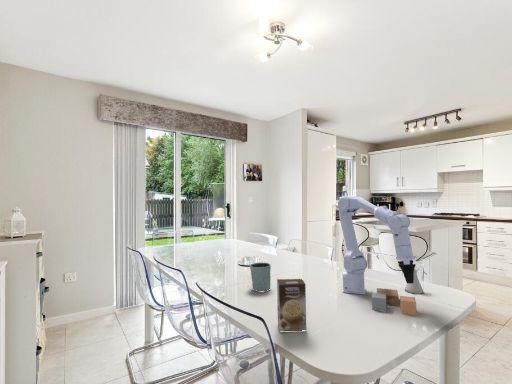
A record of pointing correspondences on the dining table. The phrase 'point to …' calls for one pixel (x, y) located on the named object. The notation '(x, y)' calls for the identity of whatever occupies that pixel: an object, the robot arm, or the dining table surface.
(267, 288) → the grey green cup
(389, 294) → the walnut base block
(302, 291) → the coffee box
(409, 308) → the terracotta block
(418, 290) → the flask
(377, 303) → the slate grey block
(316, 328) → the dining table surface
